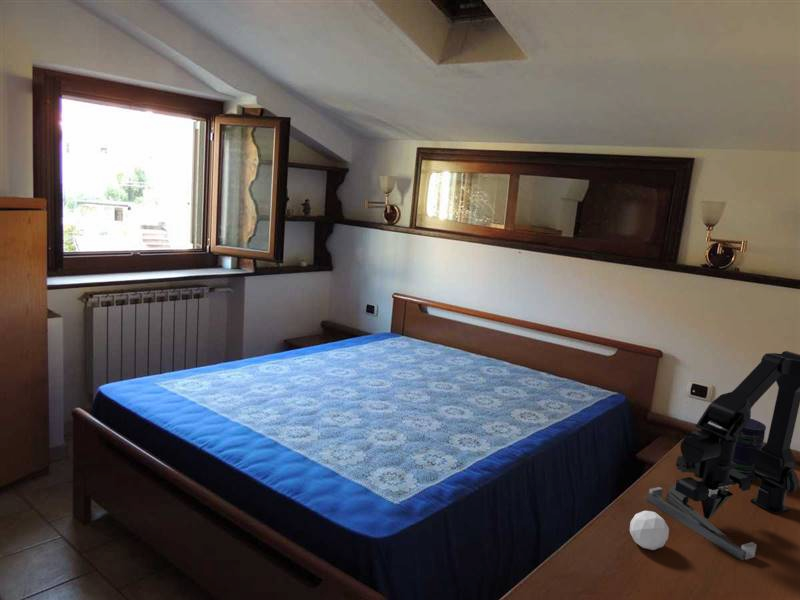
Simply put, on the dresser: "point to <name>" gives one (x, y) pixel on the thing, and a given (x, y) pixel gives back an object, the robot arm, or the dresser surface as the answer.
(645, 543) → the geometric ball
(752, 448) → the storage jar
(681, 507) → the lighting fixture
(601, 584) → the dresser surface
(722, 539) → the end cap rail
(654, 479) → the dresser surface
